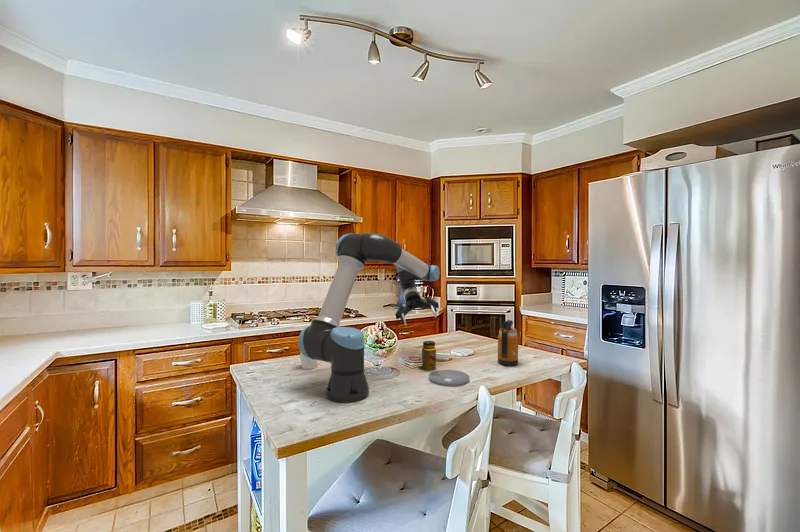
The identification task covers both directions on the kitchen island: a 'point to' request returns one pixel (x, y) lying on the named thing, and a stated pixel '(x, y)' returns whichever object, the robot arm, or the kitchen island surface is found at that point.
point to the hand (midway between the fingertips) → (420, 319)
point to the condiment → (428, 357)
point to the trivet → (449, 378)
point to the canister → (508, 344)
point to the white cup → (307, 362)
